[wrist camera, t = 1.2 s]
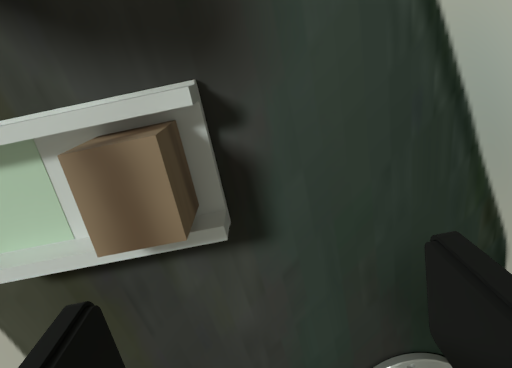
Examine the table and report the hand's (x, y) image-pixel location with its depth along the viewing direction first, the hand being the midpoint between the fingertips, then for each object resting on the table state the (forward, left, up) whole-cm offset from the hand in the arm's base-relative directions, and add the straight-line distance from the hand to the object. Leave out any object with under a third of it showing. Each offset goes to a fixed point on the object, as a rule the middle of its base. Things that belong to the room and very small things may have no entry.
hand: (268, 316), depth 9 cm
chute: (0, +13, -20) cm, 24 cm away
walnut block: (0, +8, -19) cm, 20 cm away
